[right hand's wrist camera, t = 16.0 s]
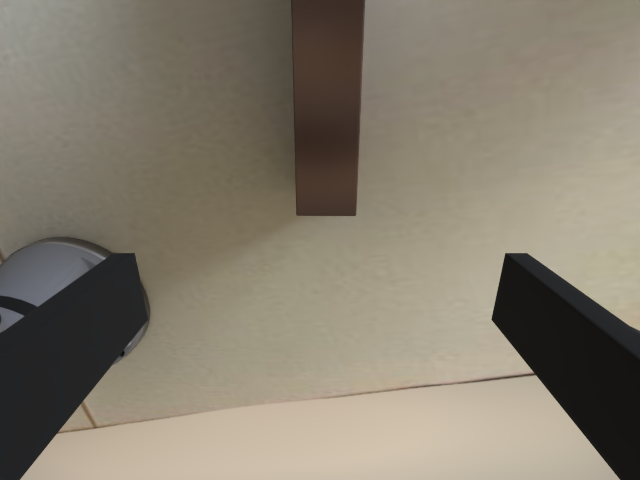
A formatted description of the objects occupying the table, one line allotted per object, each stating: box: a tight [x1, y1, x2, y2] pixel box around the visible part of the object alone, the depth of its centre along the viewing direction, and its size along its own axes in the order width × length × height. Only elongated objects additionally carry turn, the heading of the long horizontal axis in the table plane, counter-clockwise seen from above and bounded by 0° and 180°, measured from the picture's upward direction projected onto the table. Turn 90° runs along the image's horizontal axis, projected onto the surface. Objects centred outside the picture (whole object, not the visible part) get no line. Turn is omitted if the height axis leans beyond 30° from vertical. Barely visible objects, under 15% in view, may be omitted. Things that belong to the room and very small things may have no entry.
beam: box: [291, 0, 365, 216], centre depth 25 cm, size 28×4×8 cm, turn 0°
